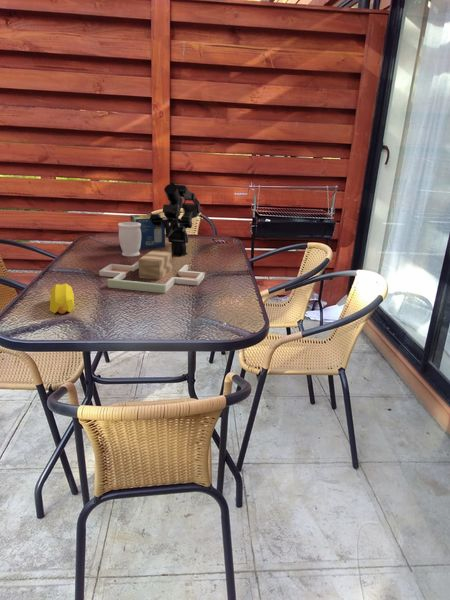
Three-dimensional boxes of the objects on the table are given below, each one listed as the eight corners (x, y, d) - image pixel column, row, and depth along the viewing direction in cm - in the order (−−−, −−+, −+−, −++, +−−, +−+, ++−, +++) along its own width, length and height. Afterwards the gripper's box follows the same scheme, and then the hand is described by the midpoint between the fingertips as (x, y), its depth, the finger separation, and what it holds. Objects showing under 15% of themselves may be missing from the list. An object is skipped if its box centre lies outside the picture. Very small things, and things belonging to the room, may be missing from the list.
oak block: (152, 267, 198) (152, 250, 195) (172, 269, 196) (171, 252, 193) (139, 278, 184) (138, 259, 181) (159, 280, 182) (159, 261, 179)
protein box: (131, 244, 234) (129, 215, 228) (159, 242, 240) (159, 213, 234) (136, 249, 225) (135, 218, 219) (165, 247, 231) (165, 217, 225)
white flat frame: (119, 262, 203) (118, 256, 201) (209, 271, 195) (209, 264, 194) (85, 284, 174) (84, 277, 173) (189, 295, 166) (189, 288, 165)
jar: (144, 252, 220) (143, 222, 215) (138, 258, 211) (137, 226, 205) (123, 251, 221) (121, 221, 216) (116, 256, 211) (114, 225, 206)
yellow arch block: (74, 296, 162) (51, 298, 160) (72, 279, 160) (49, 280, 158) (74, 315, 147) (49, 317, 144) (72, 296, 144) (47, 298, 142)
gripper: (150, 195, 200) (142, 225, 194) (190, 198, 196) (183, 228, 190) (156, 210, 210) (149, 238, 204) (195, 213, 207) (188, 242, 200)
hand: (167, 236), depth 199 cm, fingers closed
